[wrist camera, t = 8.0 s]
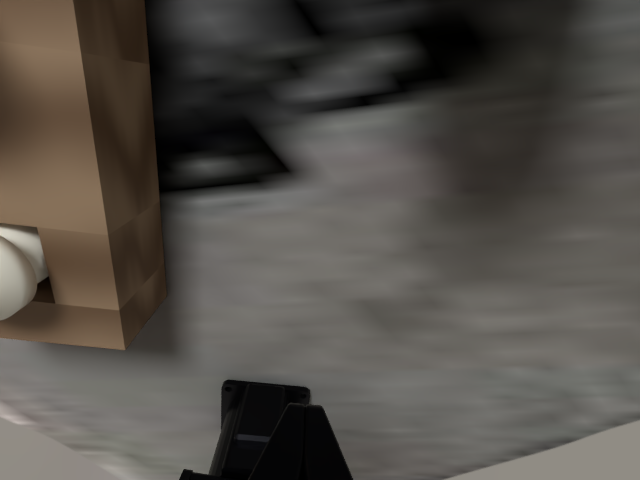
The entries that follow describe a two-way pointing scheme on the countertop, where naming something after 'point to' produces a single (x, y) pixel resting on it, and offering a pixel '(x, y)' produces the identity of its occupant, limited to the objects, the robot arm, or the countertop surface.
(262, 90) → the countertop surface
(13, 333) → the socket board
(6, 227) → the cream plug
